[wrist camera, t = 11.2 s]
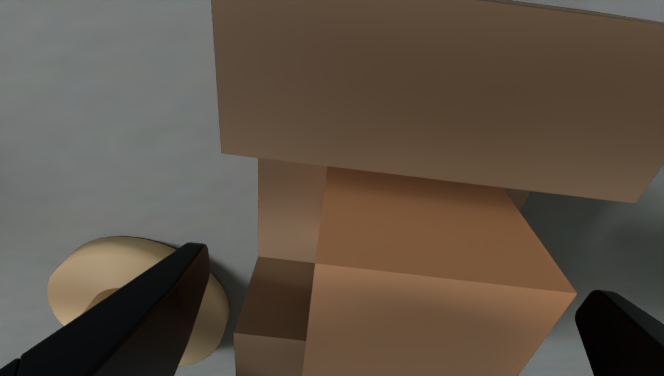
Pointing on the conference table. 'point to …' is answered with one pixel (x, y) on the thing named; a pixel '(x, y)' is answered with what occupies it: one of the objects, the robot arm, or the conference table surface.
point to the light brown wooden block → (427, 280)
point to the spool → (117, 270)
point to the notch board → (421, 118)
